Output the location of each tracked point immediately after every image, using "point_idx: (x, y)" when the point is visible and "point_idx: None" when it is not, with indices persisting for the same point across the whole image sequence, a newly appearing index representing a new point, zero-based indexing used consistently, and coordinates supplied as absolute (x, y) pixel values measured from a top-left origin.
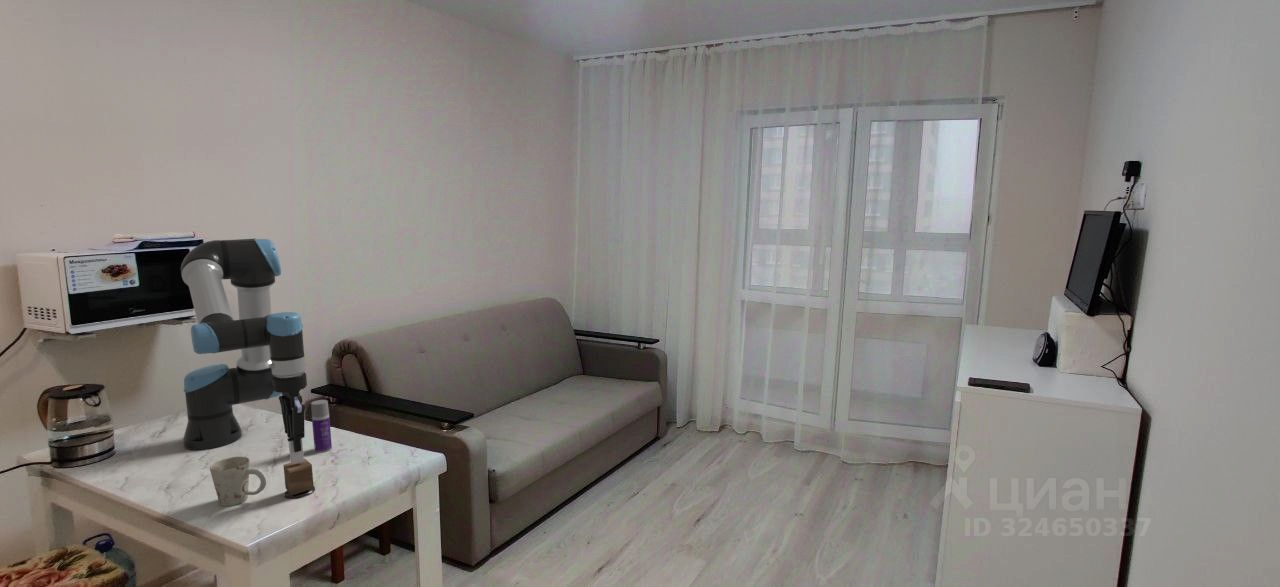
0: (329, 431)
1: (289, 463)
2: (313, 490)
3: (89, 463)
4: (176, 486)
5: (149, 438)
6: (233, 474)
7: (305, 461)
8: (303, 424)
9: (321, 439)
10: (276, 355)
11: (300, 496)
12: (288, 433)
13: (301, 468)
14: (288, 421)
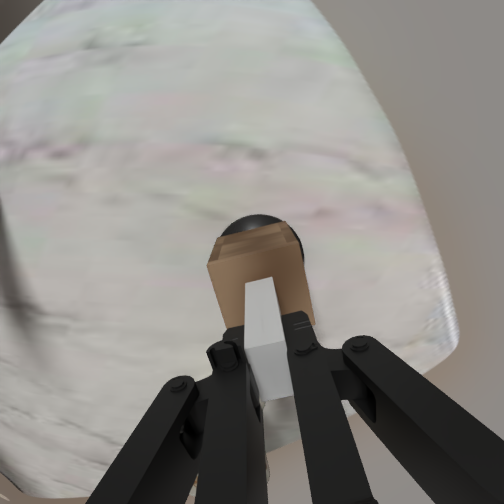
0: None
1: (232, 324)
2: (281, 220)
3: (14, 485)
4: (102, 456)
5: None
6: (266, 458)
7: (244, 265)
8: (443, 399)
9: None
10: None
11: (303, 259)
12: (261, 423)
13: (306, 282)
14: (266, 489)
